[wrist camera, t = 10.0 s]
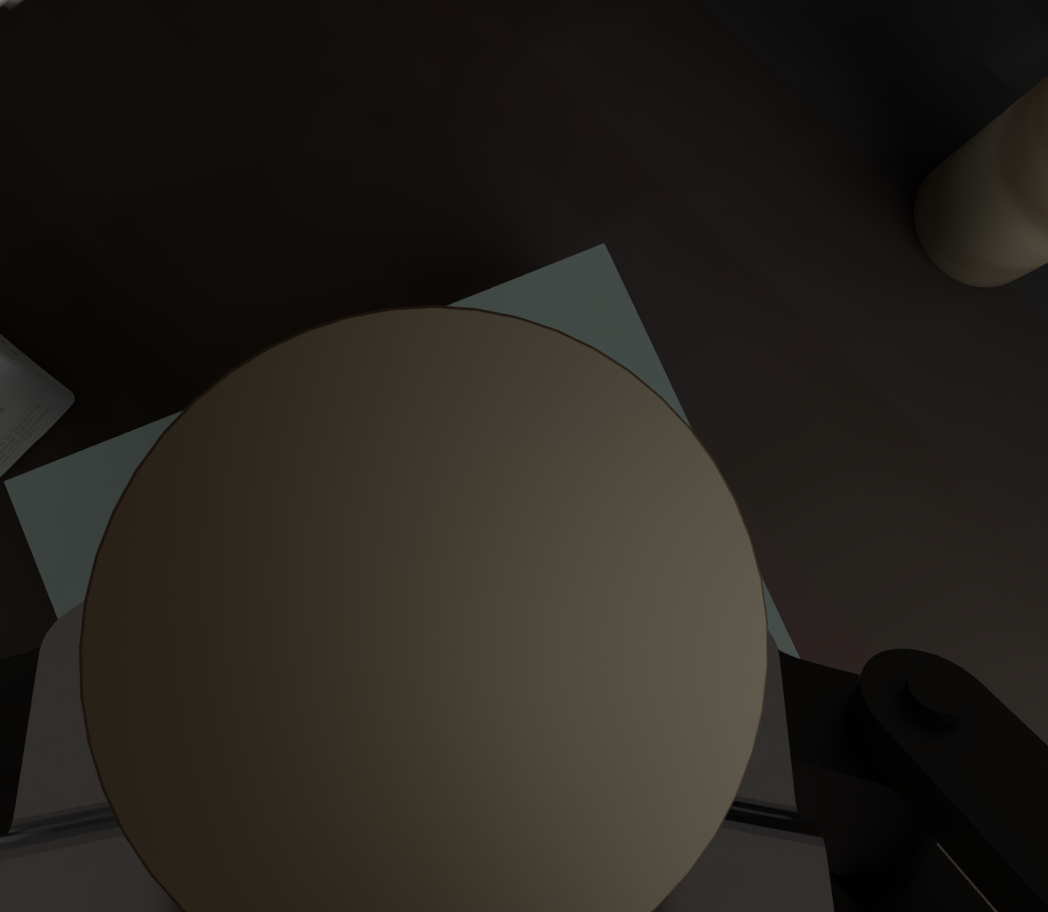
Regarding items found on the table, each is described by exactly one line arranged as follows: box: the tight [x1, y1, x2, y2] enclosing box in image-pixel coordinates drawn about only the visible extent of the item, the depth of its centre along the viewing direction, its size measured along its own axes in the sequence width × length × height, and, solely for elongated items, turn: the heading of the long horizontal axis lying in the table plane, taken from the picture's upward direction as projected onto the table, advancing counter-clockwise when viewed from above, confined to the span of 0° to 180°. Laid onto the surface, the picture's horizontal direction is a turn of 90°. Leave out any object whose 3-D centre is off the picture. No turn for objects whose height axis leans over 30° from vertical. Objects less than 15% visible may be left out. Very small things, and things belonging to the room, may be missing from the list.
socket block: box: [4, 244, 800, 659], centre depth 18 cm, size 12×10×4 cm
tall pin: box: [79, 305, 768, 912], centre depth 11 cm, size 4×4×12 cm
